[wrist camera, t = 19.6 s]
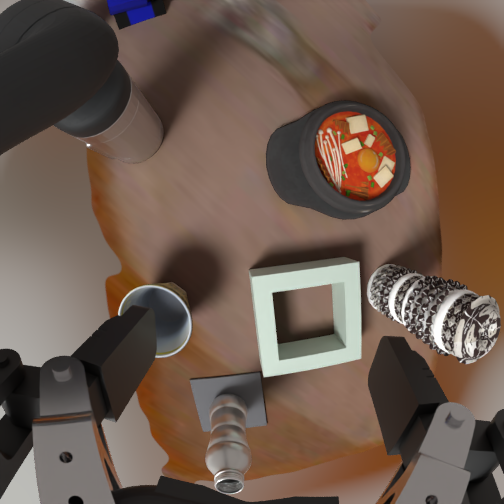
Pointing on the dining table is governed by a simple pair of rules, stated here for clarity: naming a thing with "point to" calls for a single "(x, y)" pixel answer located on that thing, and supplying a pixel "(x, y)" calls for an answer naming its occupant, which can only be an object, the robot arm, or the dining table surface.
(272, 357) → the holder block
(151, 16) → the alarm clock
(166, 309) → the ceramic cup
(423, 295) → the black and white cylinder
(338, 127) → the casserole
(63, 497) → the robot arm
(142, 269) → the dining table surface
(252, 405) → the rubber mat
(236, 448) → the plastic bottle
